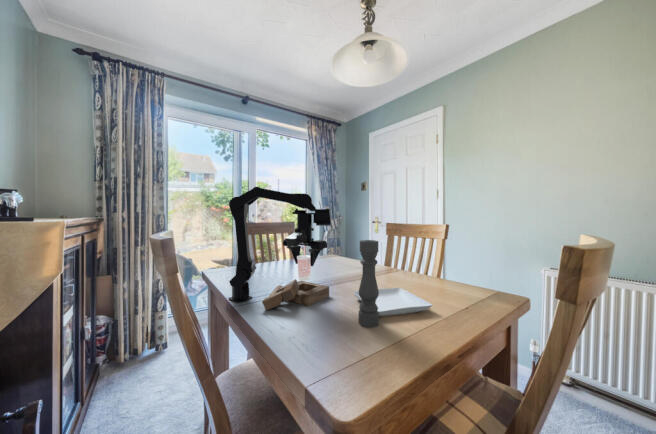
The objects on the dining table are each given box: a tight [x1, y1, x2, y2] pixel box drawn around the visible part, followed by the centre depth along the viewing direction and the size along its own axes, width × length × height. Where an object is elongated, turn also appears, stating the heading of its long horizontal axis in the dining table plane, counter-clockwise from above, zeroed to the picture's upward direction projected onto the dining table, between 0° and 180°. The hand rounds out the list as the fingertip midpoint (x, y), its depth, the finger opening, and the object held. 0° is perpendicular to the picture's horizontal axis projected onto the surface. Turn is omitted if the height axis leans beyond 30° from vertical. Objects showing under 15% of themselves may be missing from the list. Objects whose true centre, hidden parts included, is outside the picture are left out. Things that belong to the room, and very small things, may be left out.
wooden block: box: [261, 279, 299, 312], centre depth 93 cm, size 4×11×18 cm
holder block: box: [279, 280, 330, 307], centre depth 98 cm, size 15×13×4 cm
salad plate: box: [352, 287, 433, 317], centre depth 89 cm, size 21×21×3 cm
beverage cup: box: [297, 245, 312, 281], centre depth 98 cm, size 6×6×14 cm
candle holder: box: [357, 239, 380, 328], centre depth 75 cm, size 6×6×25 cm
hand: (304, 264), depth 98 cm, fingers closed on beverage cup, 7 cm apart
